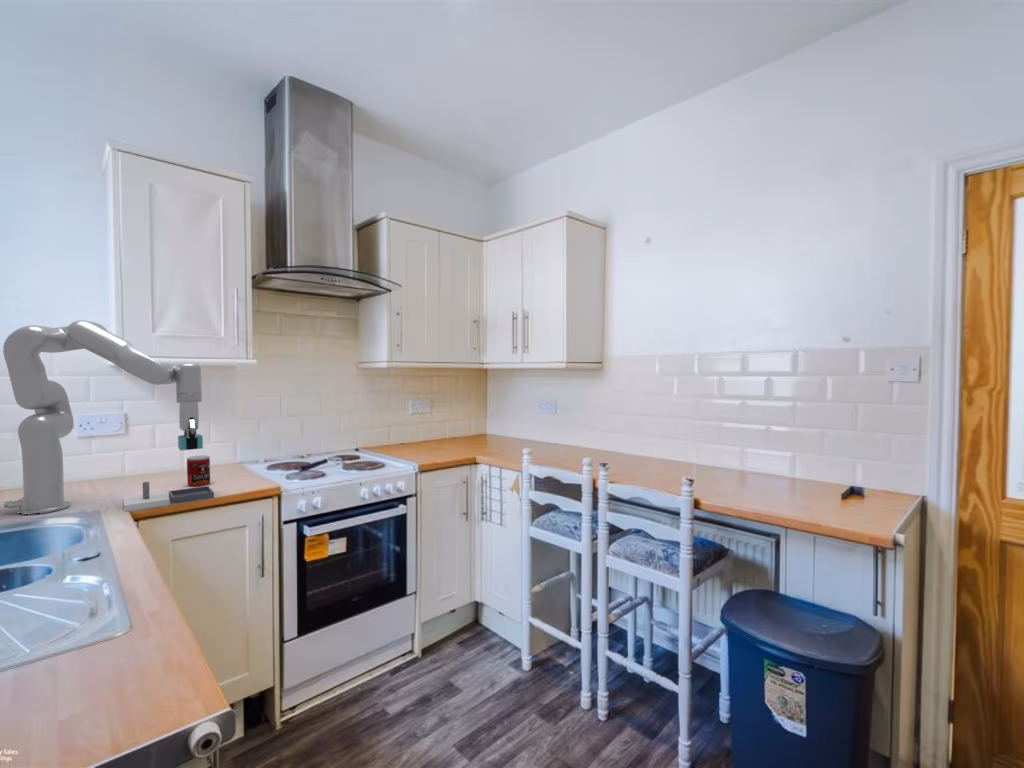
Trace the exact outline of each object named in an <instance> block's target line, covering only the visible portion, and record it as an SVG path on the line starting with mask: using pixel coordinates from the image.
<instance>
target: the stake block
mask: <svg viewBox="0 0 1024 768" xmlns="http://www.w3.org/2000/svg"><path fill="white" fill-rule="evenodd" d="M122 501H123V511H124V512H132V511H137V510H144V509H151V508H157V507H163V506H170V504H171V503H170V502H171V500H170V498H169V494H167V492H165V491H164V492H157V493H151V494H150V481H144V482H142V495H134V496H128V497H127V496H126V497H122Z"/></svg>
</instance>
